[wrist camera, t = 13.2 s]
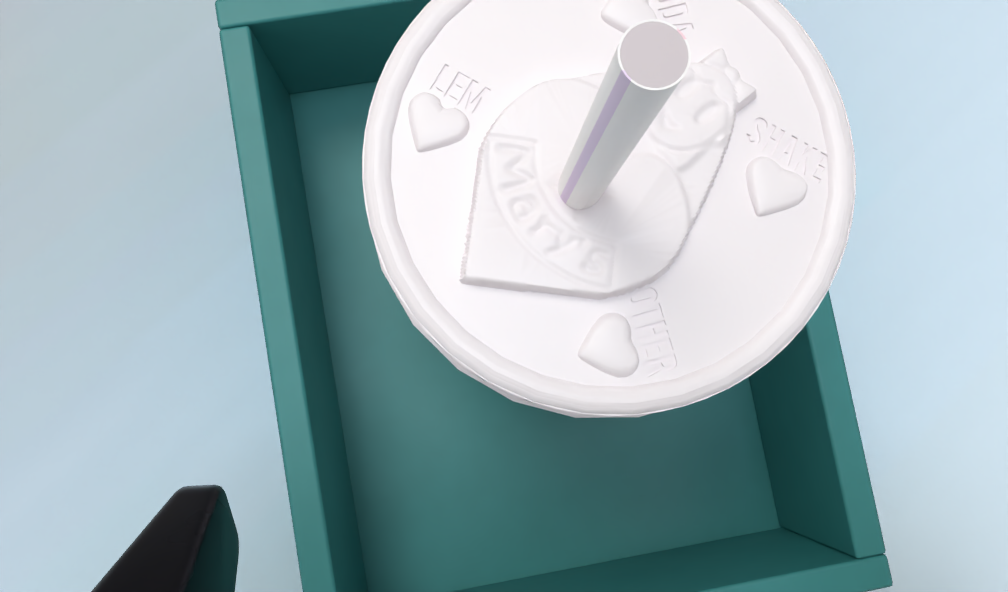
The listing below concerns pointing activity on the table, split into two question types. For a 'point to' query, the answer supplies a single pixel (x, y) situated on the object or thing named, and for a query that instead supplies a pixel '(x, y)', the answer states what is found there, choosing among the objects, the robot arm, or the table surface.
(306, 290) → the bin
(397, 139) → the smoothie
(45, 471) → the table surface
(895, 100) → the table surface
